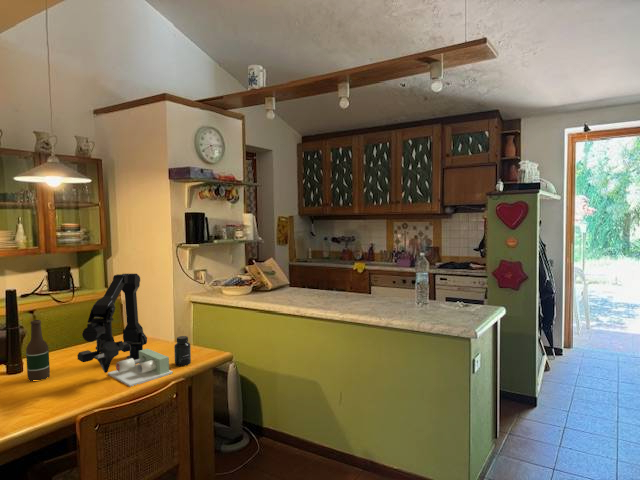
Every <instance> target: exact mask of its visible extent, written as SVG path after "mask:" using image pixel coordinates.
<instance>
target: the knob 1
mask: <svg viewBox="0 0 640 480" xmlns="http://www.w3.org/2000/svg"><path fill="white" fill-rule="evenodd" d="M142 362H146V357H144V358H141V359H135V360H134V359H133V358H130V359H129V358H126V359H123V360H119V361H116V363H115V369H116V370H117V371H118V372H120V371H123V370H127V369H130V368H134V367H135V365H137V364H139V363H142Z"/></svg>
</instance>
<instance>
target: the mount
mask: <svg viewBox="0 0 640 480" xmlns="http://www.w3.org/2000/svg"><path fill="white" fill-rule="evenodd" d="M144 357H146V362H147V361H150V360H155V361H156V363H157V368H156V369H155V370H151V371H148V372H144V373H140V372H139V370H138V365H139V364H140V363H138V364H135V367H134V368H130V369H127V370H123V371H120V372H118V371H117V369H116V370H112V371H108V372H107V375H108V376H109V377H112V378H113V379H115V380H116V381H119V382H121V383H122V384H124V385H126V386H128V387H130V388H132V387H134V385H135V386H138V385H141V384H144V383H147V382H150V381H153V380H157V379H159V378H163V377H166V376H169V374H170V375H173V374H172V373H174V371H173V370H170V360H169V359H170V357H169V356H168V355H164V354H162V353H160V352H157V351H154V350H152V349H149V348H145V349H144V348H143V350H140V351H139V359H141V358H144ZM142 363H143V362H142ZM137 384H138V385H137ZM131 386H132V387H131Z"/></svg>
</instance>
